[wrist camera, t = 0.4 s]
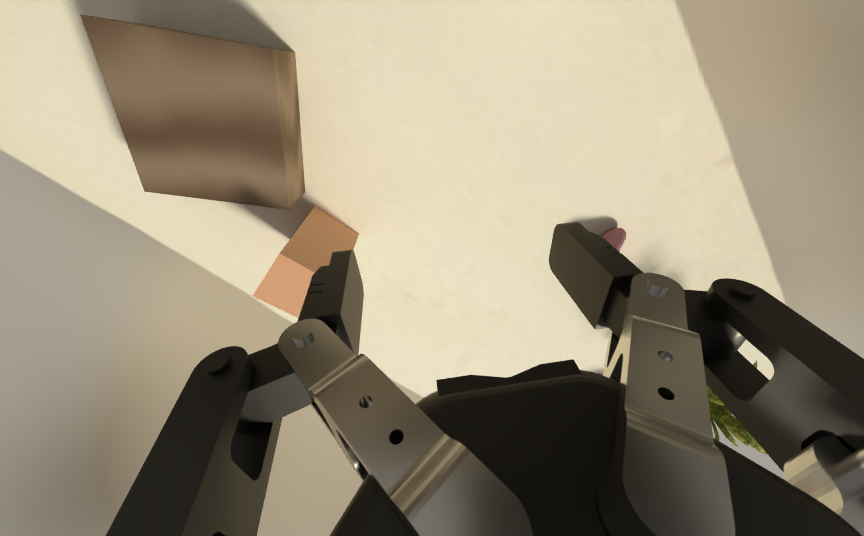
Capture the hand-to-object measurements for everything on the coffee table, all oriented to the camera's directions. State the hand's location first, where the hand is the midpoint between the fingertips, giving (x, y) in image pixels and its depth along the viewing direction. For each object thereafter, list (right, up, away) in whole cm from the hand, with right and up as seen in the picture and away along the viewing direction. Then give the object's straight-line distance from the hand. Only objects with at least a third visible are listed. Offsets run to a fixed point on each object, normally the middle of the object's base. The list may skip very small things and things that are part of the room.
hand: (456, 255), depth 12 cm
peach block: (-13, +3, +22) cm, 26 cm away
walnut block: (-19, +13, +16) cm, 28 cm away
